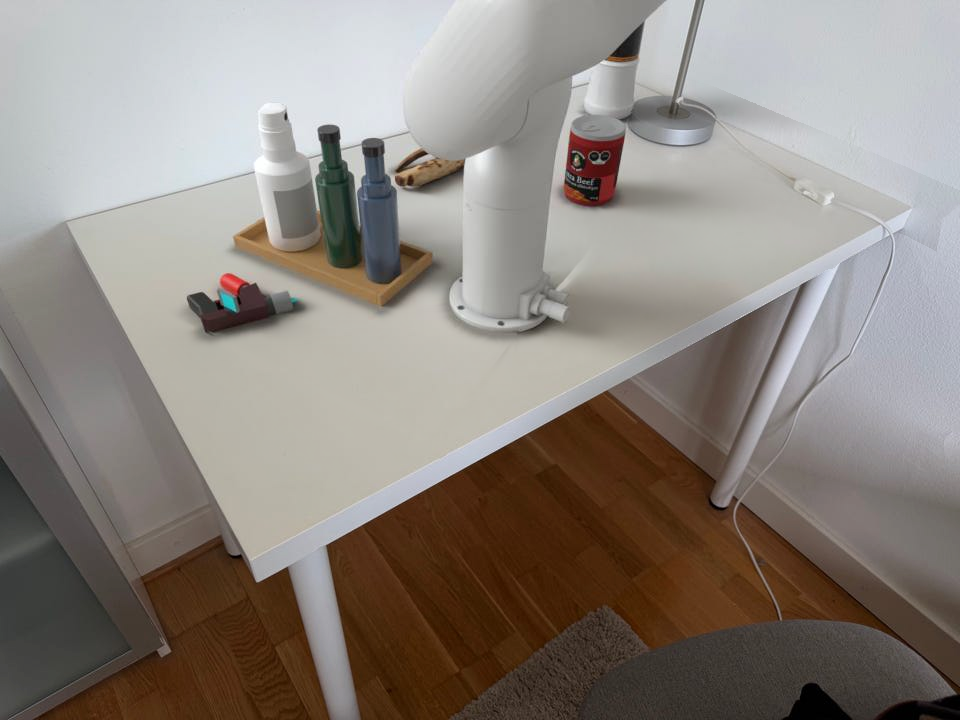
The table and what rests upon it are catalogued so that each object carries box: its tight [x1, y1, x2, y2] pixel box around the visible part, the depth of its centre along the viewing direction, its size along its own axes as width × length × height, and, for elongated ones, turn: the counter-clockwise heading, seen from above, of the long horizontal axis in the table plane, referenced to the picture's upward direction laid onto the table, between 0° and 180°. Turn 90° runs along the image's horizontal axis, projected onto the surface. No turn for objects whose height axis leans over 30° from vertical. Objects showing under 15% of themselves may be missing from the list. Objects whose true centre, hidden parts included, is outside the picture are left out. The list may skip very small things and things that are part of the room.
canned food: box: [563, 114, 627, 207], centre depth 102 cm, size 8×8×11 cm
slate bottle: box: [356, 137, 402, 284], centre depth 82 cm, size 5×5×18 cm
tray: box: [232, 210, 434, 307], centre depth 90 cm, size 24×11×2 cm, turn 59°
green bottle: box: [314, 124, 363, 268], centre depth 84 cm, size 5×5×18 cm
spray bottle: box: [253, 102, 321, 252], centre depth 87 cm, size 7×7×18 cm
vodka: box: [583, 20, 646, 121], centre depth 119 cm, size 9×9×30 cm
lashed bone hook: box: [394, 147, 465, 188], centre depth 108 cm, size 9×5×18 cm
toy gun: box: [186, 272, 300, 335], centre depth 81 cm, size 10×12×5 cm
